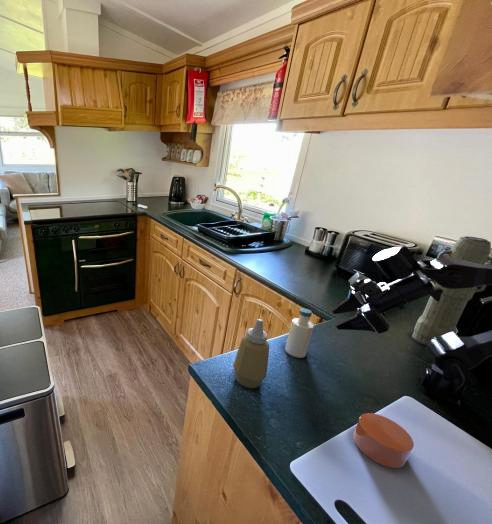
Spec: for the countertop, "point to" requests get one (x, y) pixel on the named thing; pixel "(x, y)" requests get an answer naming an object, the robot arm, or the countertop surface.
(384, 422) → the orange short round piece
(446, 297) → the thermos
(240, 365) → the squeeze bottle
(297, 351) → the cream bottle
